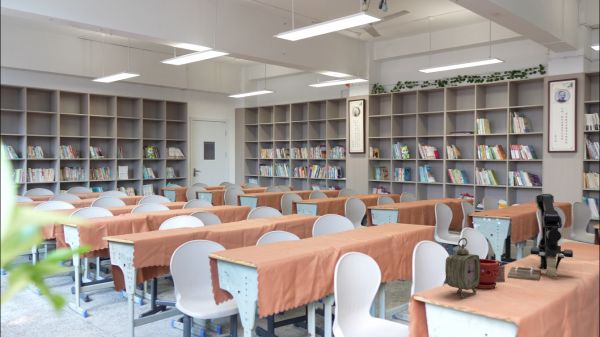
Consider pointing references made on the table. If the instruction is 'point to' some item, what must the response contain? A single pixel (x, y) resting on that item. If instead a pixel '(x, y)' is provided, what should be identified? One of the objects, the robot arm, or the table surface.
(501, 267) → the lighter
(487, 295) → the table surface
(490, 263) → the plant pot
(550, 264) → the peg
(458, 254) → the tabletop clock
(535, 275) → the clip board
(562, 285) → the table surface
